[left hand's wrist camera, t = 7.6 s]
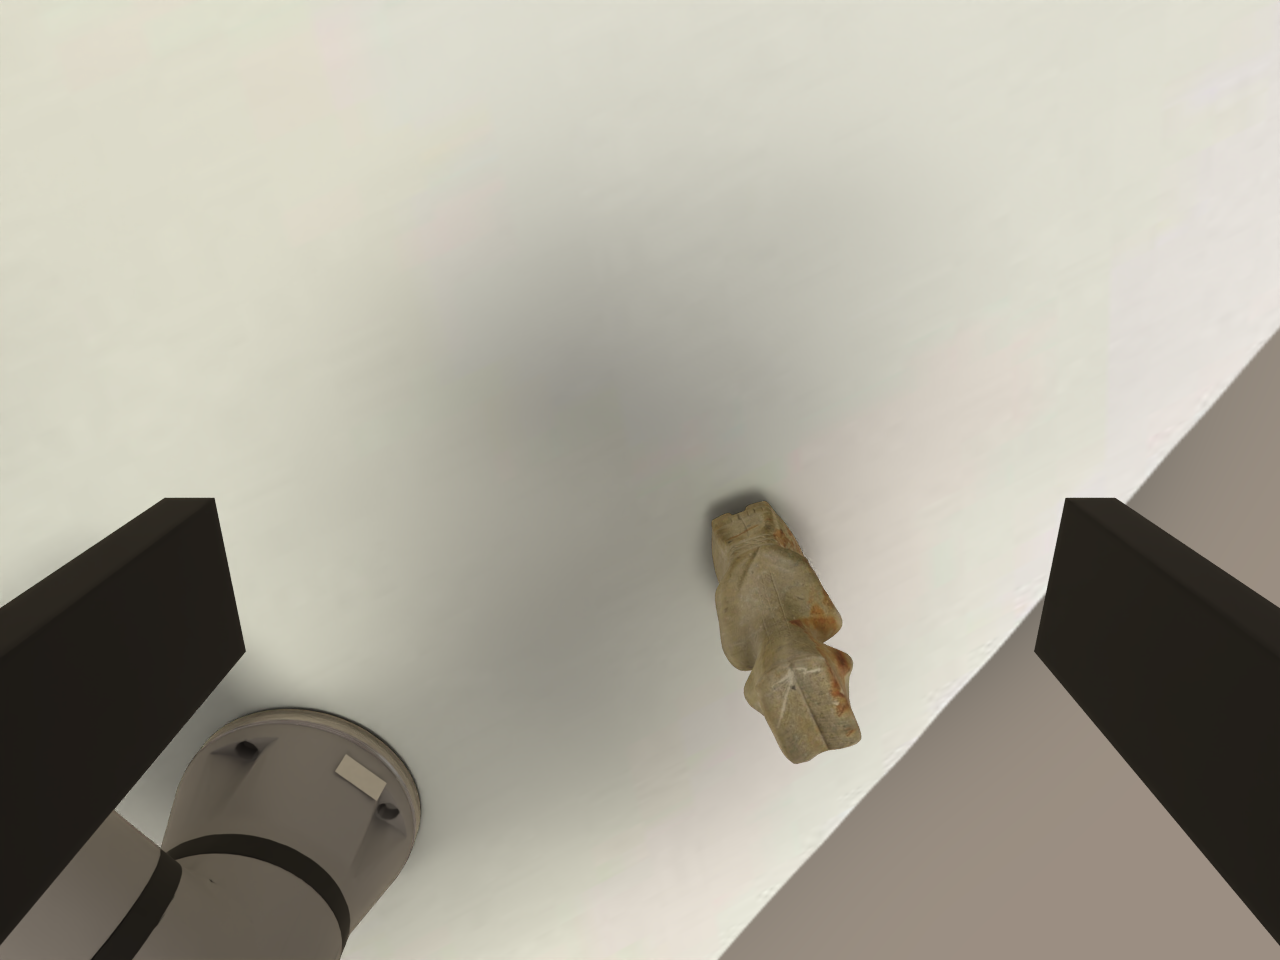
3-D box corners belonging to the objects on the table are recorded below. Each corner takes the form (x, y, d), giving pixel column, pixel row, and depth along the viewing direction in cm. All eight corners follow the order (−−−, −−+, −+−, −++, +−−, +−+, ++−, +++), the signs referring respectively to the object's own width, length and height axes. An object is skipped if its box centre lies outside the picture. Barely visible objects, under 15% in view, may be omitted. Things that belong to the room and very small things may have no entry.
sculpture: (725, 612, 48) (760, 791, 34) (687, 508, 46) (708, 654, 32) (818, 583, 47) (893, 754, 33) (785, 476, 45) (851, 611, 31)
